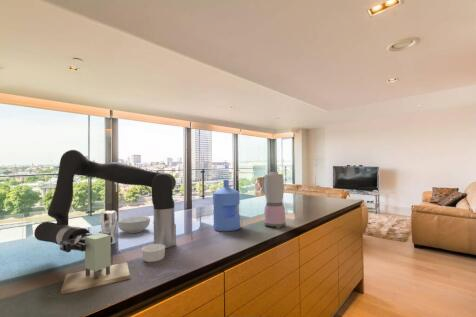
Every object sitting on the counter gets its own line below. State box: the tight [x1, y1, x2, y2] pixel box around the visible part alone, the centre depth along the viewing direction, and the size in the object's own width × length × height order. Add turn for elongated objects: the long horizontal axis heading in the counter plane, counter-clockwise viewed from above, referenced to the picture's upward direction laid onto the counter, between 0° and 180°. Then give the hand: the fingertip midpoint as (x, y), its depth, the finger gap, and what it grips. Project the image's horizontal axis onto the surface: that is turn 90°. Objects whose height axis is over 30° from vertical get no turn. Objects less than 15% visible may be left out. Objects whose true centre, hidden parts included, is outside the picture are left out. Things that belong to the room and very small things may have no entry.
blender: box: [261, 171, 287, 229], centre depth 141 cm, size 16×12×32 cm
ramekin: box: [141, 243, 166, 263], centre depth 93 cm, size 9×9×4 cm
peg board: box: [60, 261, 131, 295], centre depth 77 cm, size 18×12×4 cm, turn 120°
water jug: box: [212, 179, 241, 232], centre depth 137 cm, size 16×16×28 cm
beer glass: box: [100, 210, 118, 245], centre depth 114 cm, size 7×7×15 cm
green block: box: [84, 232, 112, 272], centre depth 77 cm, size 6×5×10 cm
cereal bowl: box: [117, 216, 151, 234], centre depth 134 cm, size 17×17×7 cm
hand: (98, 243), depth 77 cm, fingers open, 8 cm apart
